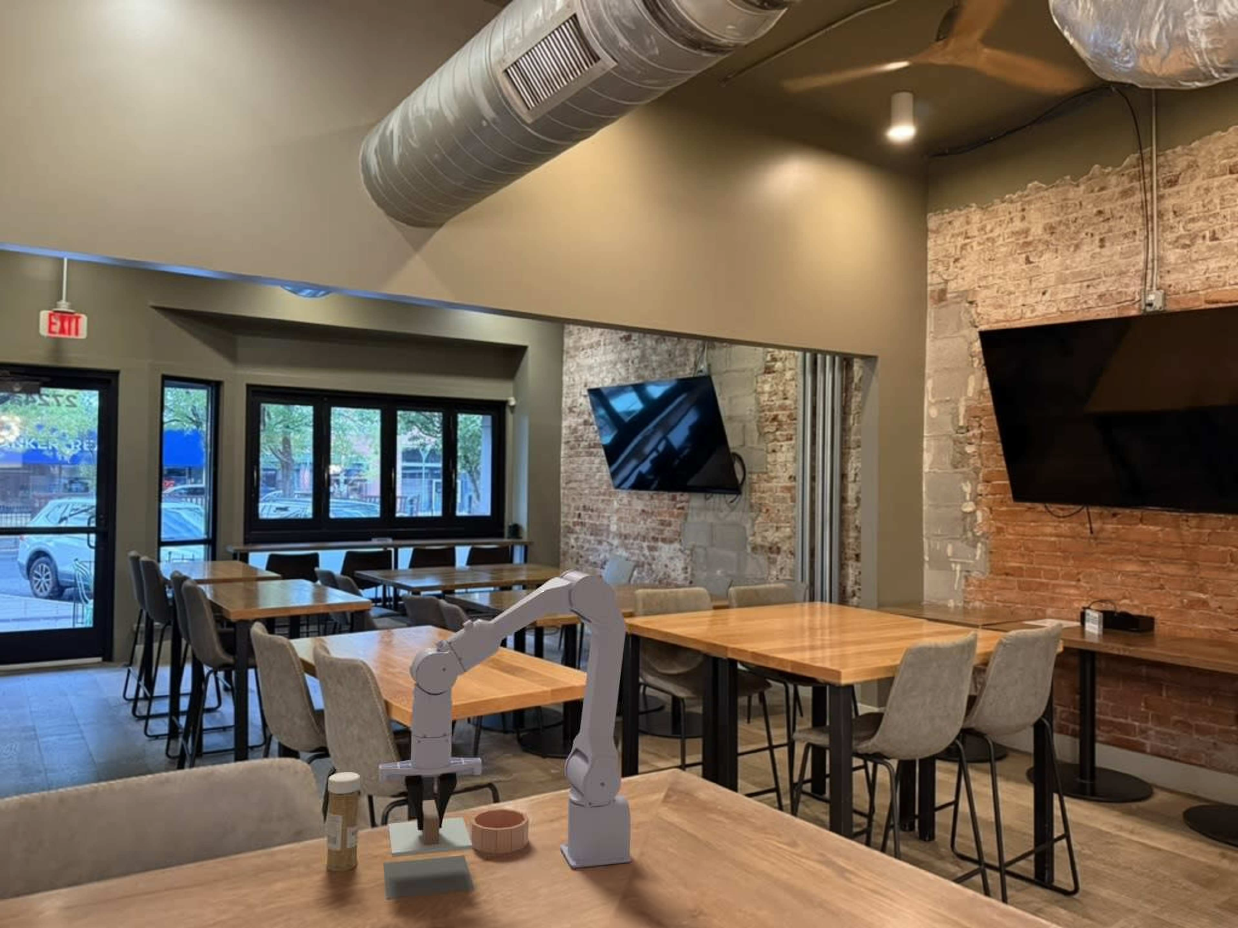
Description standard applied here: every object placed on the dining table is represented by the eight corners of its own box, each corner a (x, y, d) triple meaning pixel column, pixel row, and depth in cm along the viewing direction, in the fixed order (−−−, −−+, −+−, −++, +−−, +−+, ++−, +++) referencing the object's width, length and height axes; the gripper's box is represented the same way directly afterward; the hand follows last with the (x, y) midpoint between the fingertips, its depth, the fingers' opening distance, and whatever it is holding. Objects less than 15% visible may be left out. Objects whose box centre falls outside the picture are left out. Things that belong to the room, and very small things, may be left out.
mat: (464, 857, 136) (464, 854, 136) (474, 891, 124) (474, 889, 124) (383, 865, 132) (383, 862, 132) (386, 901, 121) (386, 898, 121)
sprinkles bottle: (361, 869, 131) (364, 777, 131) (330, 876, 128) (333, 782, 129) (352, 858, 135) (355, 769, 135) (321, 864, 132) (324, 773, 133)
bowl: (521, 830, 147) (522, 806, 147) (532, 852, 138) (532, 826, 138) (467, 835, 144) (467, 811, 144) (474, 857, 136) (475, 831, 136)
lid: (462, 820, 135) (463, 793, 135) (472, 849, 125) (472, 819, 125) (388, 827, 132) (389, 799, 132) (391, 857, 122) (392, 826, 122)
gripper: (477, 722, 135) (475, 812, 134) (379, 728, 131) (377, 821, 130) (484, 735, 128) (482, 829, 128) (381, 741, 124) (378, 839, 123)
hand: (429, 826), depth 128 cm, fingers closed on lid, 2 cm apart
